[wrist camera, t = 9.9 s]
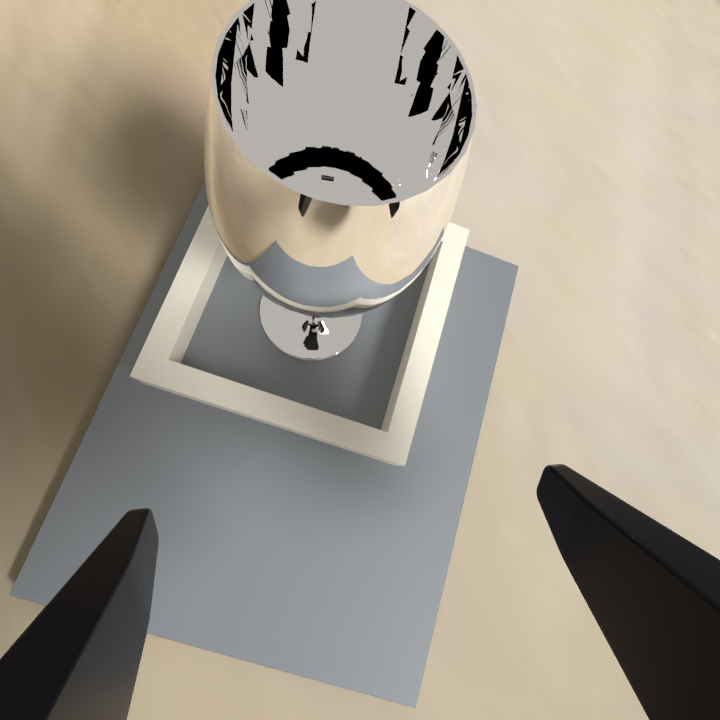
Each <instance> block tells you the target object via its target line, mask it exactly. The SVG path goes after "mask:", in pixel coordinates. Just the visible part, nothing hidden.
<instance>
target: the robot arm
mask: <svg viewBox="0 0 720 720" xmlns="http://www.w3.org/2000/svg"><path fill="white" fill-rule="evenodd" d="M537 498H538V501H539V503H540V505H541V508H542V510H543V513H544V515H545V517H546V520H547V522H548V525H549V527H550V529H551V532H552V534H553V537H554V539H555V541H556V544H557V546H558V548H559V551H560V553H561V555H562V557H563V559H564V561H565V563H566V565H567V567H568V569H569V571H570V573H571V575H572V576H573V578H574V580H575V582H576V584H577V586H578V588H579V589H580V591H581V593H582V595H583V597H584V599H585V601H586V603H587V604H588V606H589V608H590V610H591V612H592V614H593V616H594V617H595V619H596V621H597V623H598V625H599V627H600V629H601V631H602V632H603V634H604V636H605V638H606V640H607V642H608V644H609V645H610V647H611V649H612V651H613V653H614V655H615V657H616V658H617V660H618V662H619V664H620V666H621V668H622V670H623V672H624V673H625V675H626V677H627V679H628V681H629V683H630V685H631V686H632V688H633V690H634V692H635V694H636V696H637V698H638V700H639V701H640V703H641V705H642V707H643V709H644V711H645V713H646V714H647V716H648V718H649V720H720V560H719V559H717V558H716V557H714V556H712V555H711V554H709V553H708V552H706V551H704V550H703V549H701V548H699V547H698V546H696V545H695V544H693V543H691V542H690V541H688V540H686V539H685V538H683V537H681V536H680V535H678V534H677V533H675V532H673V531H672V530H670V529H668V528H667V527H665V526H664V525H662V524H660V523H659V522H657V521H655V520H654V519H652V518H650V517H649V516H647V515H646V514H644V513H642V512H641V511H639V510H637V509H636V508H634V507H633V506H631V505H629V504H628V503H626V502H624V501H623V500H621V499H619V498H618V497H616V496H615V495H613V494H611V493H610V492H608V491H606V490H605V489H603V488H602V487H600V486H598V485H597V484H595V483H593V482H592V481H590V480H588V479H587V478H585V477H584V476H582V475H580V474H579V473H577V472H575V471H574V470H572V469H571V468H569V467H567V466H565V465H563V464H555V465H548V466H546V467H545V468H544V470H543V473H542V476H541V478H540V481H539V484H538V486H537ZM158 544H159V536H158V531H157V527H156V524H155V520H154V516H153V513H152V511H151V509H149V508H141V509H132V510H129V511H128V512H126V514H125V515H124V516H123V517H122V518H121V519H120V520H119V522H118V523H117V524H116V525H115V526H114V527H113V529H112V530H111V531H110V532H109V533H108V534H107V536H106V537H105V538H104V539H103V540H102V541H101V543H100V544H99V545H98V546H97V547H96V548H95V550H94V551H93V552H92V553H91V554H90V555H89V557H88V558H87V559H86V560H85V561H84V562H83V563H82V565H81V566H80V567H79V568H78V569H77V570H76V572H75V573H74V574H73V575H72V576H71V577H70V579H69V580H68V581H67V582H66V583H65V584H64V586H63V587H62V588H61V589H60V590H59V591H58V593H57V594H56V595H55V596H54V597H53V598H52V600H51V601H50V602H49V603H48V604H47V605H46V607H45V608H44V609H43V610H42V611H41V612H40V614H39V615H38V616H37V617H36V618H35V619H34V621H33V622H32V623H31V624H30V625H29V626H28V627H27V629H26V630H25V631H24V632H23V633H22V634H21V636H20V637H19V638H18V639H17V640H16V641H15V643H14V644H13V645H12V646H11V647H10V648H9V650H8V651H7V652H6V653H5V654H4V655H3V657H2V658H1V659H0V720H127V716H128V711H129V707H130V703H131V698H132V694H133V690H134V686H135V681H136V677H137V673H138V668H139V664H140V660H141V656H142V651H143V647H144V643H145V638H146V634H147V629H148V624H149V619H150V612H151V604H152V596H153V587H154V579H155V570H156V562H157V553H158Z"/></svg>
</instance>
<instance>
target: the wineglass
mask: <svg viewBox="0 0 720 720" xmlns="http://www.w3.org/2000/svg"><path fill="white" fill-rule="evenodd" d="M476 106H477V104H476V98H475V93H474V87H473V81H472V78H471V76H470V73H469V71H468V69H467V66H466V64H465V62H464V60H463V57H462V55H461V53H460V52H459V50H458V49H457V47H456V46H455V44H454V43H453V41H452V40H451V39H450V38H449V36H448V35H447V34H446V33H445V32H444V31H443V30H442V29H441V28H440V27H439V26H438V25H437V24H436V23H435V22H434V21H433V20H432V19H431V18H430V17H429V16H427V15H426V14H425V13H423V12H422V11H421V10H420V9H418V8H417V7H415V6H414V5H412V4H410V3H409V2H407V1H405V0H250V1H249V2H248V3H247V4H246V5H245V6H244V7H243V8H241V9H240V10H239V11H238V12H237V13H236V14H235V15H234V16H232V17H231V19H230V21H229V22H228V24H227V25H226V27H225V29H224V30H223V32H222V33H221V35H220V37H219V38H218V40H217V44H216V48H215V52H214V55H213V59H212V63H211V69H210V78H209V88H208V97H207V107H206V117H205V128H204V172H205V182H206V191H207V200H208V204H209V208H210V211H211V215H212V219H213V222H214V226H215V229H216V232H217V234H218V237H219V240H220V242H221V244H222V246H223V247H224V249H225V251H226V253H227V254H228V256H229V258H230V260H231V261H232V263H233V265H234V266H235V267H236V269H237V270H238V271H239V273H240V274H241V275H242V276H243V278H244V279H245V280H246V281H247V282H248V283H249V284H250V285H251V286H252V287H253V288H254V289H255V290H256V291H257V292H259V293H260V294H262V297H261V302H260V311H259V313H260V321H261V324H262V327H263V330H264V332H265V333H266V335H267V337H268V338H269V340H270V341H271V342H272V343H273V344H274V345H275V346H276V347H277V348H278V349H279V350H280V351H282V352H283V353H285V354H287V355H289V356H290V357H293V358H296V359H300V360H303V361H321V360H327V359H329V358H332V357H335V356H337V355H339V354H340V353H342V352H343V351H345V350H346V349H347V348H348V347H349V346H350V345H351V344H352V343H353V342H354V340H355V338H356V337H357V335H358V334H359V331H360V328H361V325H362V319H363V313H365V312H368V311H371V310H374V309H375V308H377V307H379V306H381V305H383V304H384V303H386V302H388V301H390V300H392V299H393V298H394V297H396V296H397V295H398V294H400V293H401V292H402V291H404V290H405V289H406V288H407V287H408V286H409V285H410V284H411V283H412V282H413V281H414V280H415V279H416V278H417V277H418V276H419V275H420V273H421V272H422V270H423V269H424V268H425V266H426V265H427V264H428V262H429V261H430V259H431V258H432V256H433V255H434V253H435V251H436V249H437V248H438V246H439V244H440V242H441V240H442V239H443V236H444V234H445V232H446V229H447V227H448V224H449V222H450V219H451V217H452V214H453V212H454V209H455V205H456V202H457V199H458V196H459V193H460V189H461V186H462V183H463V180H464V175H465V170H466V166H467V162H468V158H469V154H470V149H471V144H472V139H473V134H474V129H475V118H476Z"/></svg>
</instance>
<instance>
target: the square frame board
mask: <svg viewBox="0 0 720 720" xmlns="http://www.w3.org/2000/svg"><path fill="white" fill-rule="evenodd" d="M468 234H469V230H468V229H466V228H463V227H461V226H458V225H455V224H453V223H450V222H449V224H448V227H447V229H446V232H445V234H444V236H443V239H442V240H441V242H440V244H439V246H438V248H437V249H436V251H435V253H434V255H433V256H432V258H431V259H430V261H429V262H428V264H427V265H426V266H425V268H424V269H423V270H422V272H421V273H420V275H419V276H418V277H417V278H416V279H415V280H414V281H413V282H412V283H411V284H410V285H409V286H408V287H407V288H406V289H405V290H404V291H402V292H401V293H400V294H398V295H397V296H396V297H394V298H393V299H392V300H390V301H388V302H386V303H384V304H383V305H381V306H379V307H377V308H375V309H374V310H371V311H368V312H365V313H363V319H362V325H361V328H360V331H359V334H358V335H357V337H356V338H355V340H354V342H353V343H352V344H351V345H350V346H349V347H348V348H347V349H346V350H345V351H343V352H342V353H340V354H339V355H337V356H335V357H332V358H329V359H327V360H321V361H303V360H300V359H296V358H293V357H290V356H289V355H287V354H285V353H283V352H282V351H280V350H279V349H278V348H277V347H276V346H275V345H274V344H273V343H272V342H271V341H270V340H269V338H268V337H267V335H266V333H265V332H264V330H263V327H262V324H261V321H260V313H259V311H260V302H261V297H262V294H260V293H259V292H257V291H256V290H255V289H254V288H253V287H252V286H251V285H250V284H249V283H248V282H247V281H246V280H245V279H244V278H243V276H242V275H241V274H240V273H239V271H238V270H237V269H236V267H235V266H234V265H233V263H232V261H231V260H230V258H229V256H228V254H227V253H226V251H225V249H224V247H223V246H222V244H221V242H220V240H219V237H218V234H217V232H216V229H215V226H214V222H213V219H212V215H211V211H210V208H209V204H208V200H207V191H206V182H205V181H204V183H203V185H202V187H201V189H200V191H199V193H198V195H197V198H196V200H195V202H194V204H193V206H192V208H191V210H190V212H189V215H188V217H187V219H186V221H185V223H184V225H183V227H182V229H181V232H180V234H179V236H178V238H177V240H176V242H175V244H174V246H173V248H172V251H171V253H170V255H169V257H168V259H167V261H166V263H165V265H164V268H163V270H162V272H161V274H160V276H159V278H158V280H157V282H156V285H155V287H154V289H153V291H152V293H151V295H150V297H149V299H148V301H147V304H146V306H145V308H144V310H143V312H142V314H141V316H140V318H139V321H138V323H137V325H136V327H135V329H134V331H133V333H132V335H131V338H130V340H129V342H128V344H127V346H126V348H125V350H124V352H123V354H122V357H121V359H120V361H119V363H118V365H117V367H116V369H115V371H114V374H113V376H112V378H111V380H110V382H109V384H108V386H107V388H106V391H105V393H104V395H103V397H102V399H101V401H100V403H99V405H98V407H97V410H96V412H95V414H94V416H93V418H92V420H91V422H90V424H89V427H88V429H87V431H86V433H85V435H84V437H83V439H82V441H81V444H80V446H79V448H78V450H77V452H76V454H75V456H74V458H73V460H72V463H71V465H70V467H69V469H68V471H67V473H66V475H65V477H64V480H63V482H62V484H61V486H60V488H59V490H58V492H57V494H56V497H55V499H54V501H53V503H52V505H51V507H50V509H49V511H48V513H47V516H46V518H45V520H44V522H43V524H42V526H41V528H40V530H39V533H38V535H37V537H36V539H35V541H34V543H33V545H32V547H31V550H30V552H29V554H28V556H27V558H26V560H25V562H24V564H23V566H22V569H21V571H20V573H19V575H18V577H17V579H16V581H15V583H14V586H13V588H12V590H11V592H10V594H9V595H11V596H14V597H18V598H21V599H25V600H29V601H32V602H36V603H39V604H43V605H47V604H48V603H49V602H50V601H51V600H52V598H53V597H54V596H55V595H56V594H57V593H58V591H59V590H60V589H61V588H62V587H63V586H64V584H65V583H66V582H67V581H68V580H69V579H70V577H71V576H72V575H73V574H74V573H75V572H76V570H77V569H78V568H79V567H80V566H81V565H82V563H83V562H84V561H85V560H86V559H87V558H88V557H89V555H90V554H91V553H92V552H93V551H94V550H95V548H96V547H97V546H98V545H99V544H100V543H101V541H102V540H103V539H104V538H105V537H106V536H107V534H108V533H109V532H110V531H111V530H112V529H113V527H114V526H115V525H116V524H117V523H118V522H119V520H120V519H121V518H122V517H123V516H124V515H125V514H126V512H128V511H129V510H132V509H141V508H149V509H151V511H152V513H153V516H154V520H155V524H156V527H157V531H158V536H159V544H158V553H157V562H156V570H155V579H154V587H153V596H152V604H151V612H150V619H149V624H148V629H147V634H151V635H154V636H158V637H162V638H165V639H169V640H172V641H176V642H179V643H183V644H187V645H190V646H194V647H197V648H201V649H205V650H208V651H212V652H215V653H219V654H223V655H226V656H230V657H233V658H237V659H241V660H244V661H248V662H251V663H255V664H259V665H262V666H266V667H269V668H273V669H276V670H280V671H284V672H287V673H291V674H294V675H298V676H302V677H305V678H309V679H312V680H316V681H320V682H323V683H327V684H330V685H334V686H338V687H341V688H345V689H348V690H352V691H356V692H359V693H363V694H366V695H370V696H373V697H377V698H381V699H384V700H388V701H391V702H395V703H399V704H402V705H406V706H409V707H413V708H415V707H416V703H417V699H418V694H419V690H420V686H421V681H422V677H423V673H424V669H425V664H426V660H427V656H428V651H429V647H430V643H431V639H432V634H433V630H434V626H435V621H436V617H437V613H438V609H439V604H440V600H441V596H442V591H443V587H444V583H445V579H446V574H447V570H448V566H449V561H450V557H451V553H452V549H453V544H454V540H455V536H456V531H457V527H458V523H459V519H460V514H461V510H462V506H463V501H464V497H465V493H466V489H467V484H468V480H469V476H470V471H471V467H472V463H473V459H474V454H475V450H476V446H477V442H478V437H479V433H480V429H481V424H482V420H483V416H484V412H485V407H486V403H487V399H488V394H489V390H490V386H491V382H492V377H493V373H494V369H495V364H496V360H497V356H498V352H499V347H500V343H501V339H502V334H503V330H504V326H505V322H506V317H507V313H508V309H509V304H510V300H511V296H512V292H513V287H514V283H515V279H516V274H517V270H518V266H517V265H514V264H511V263H509V262H506V261H503V260H501V259H498V258H495V257H493V256H490V255H487V254H485V253H482V252H479V251H477V250H474V249H471V248H469V247H466V246H465V245H466V241H467V237H468Z"/></svg>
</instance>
